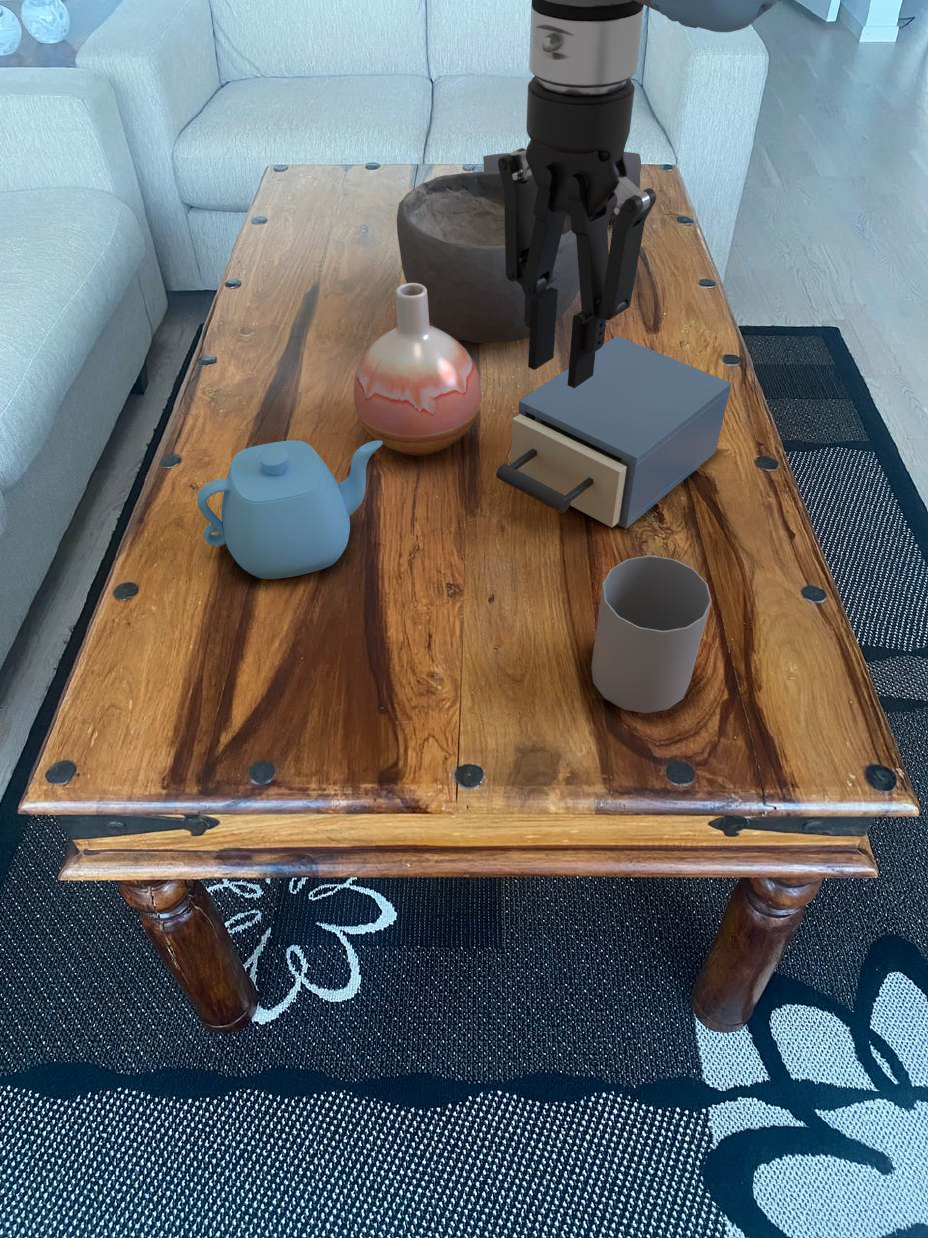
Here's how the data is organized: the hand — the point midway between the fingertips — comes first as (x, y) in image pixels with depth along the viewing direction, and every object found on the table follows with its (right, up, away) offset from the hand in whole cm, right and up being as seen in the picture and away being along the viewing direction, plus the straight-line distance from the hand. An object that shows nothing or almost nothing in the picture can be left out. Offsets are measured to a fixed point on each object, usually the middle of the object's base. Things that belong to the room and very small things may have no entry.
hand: (560, 370), depth 82 cm
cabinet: (+8, -5, +18) cm, 20 cm away
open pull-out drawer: (+5, -7, +15) cm, 17 cm away
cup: (+7, -27, -2) cm, 28 cm away
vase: (-13, -2, +21) cm, 25 cm away
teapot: (-25, -14, +10) cm, 30 cm away
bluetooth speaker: (+6, +39, +59) cm, 71 cm away
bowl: (-5, +17, +39) cm, 43 cm away
